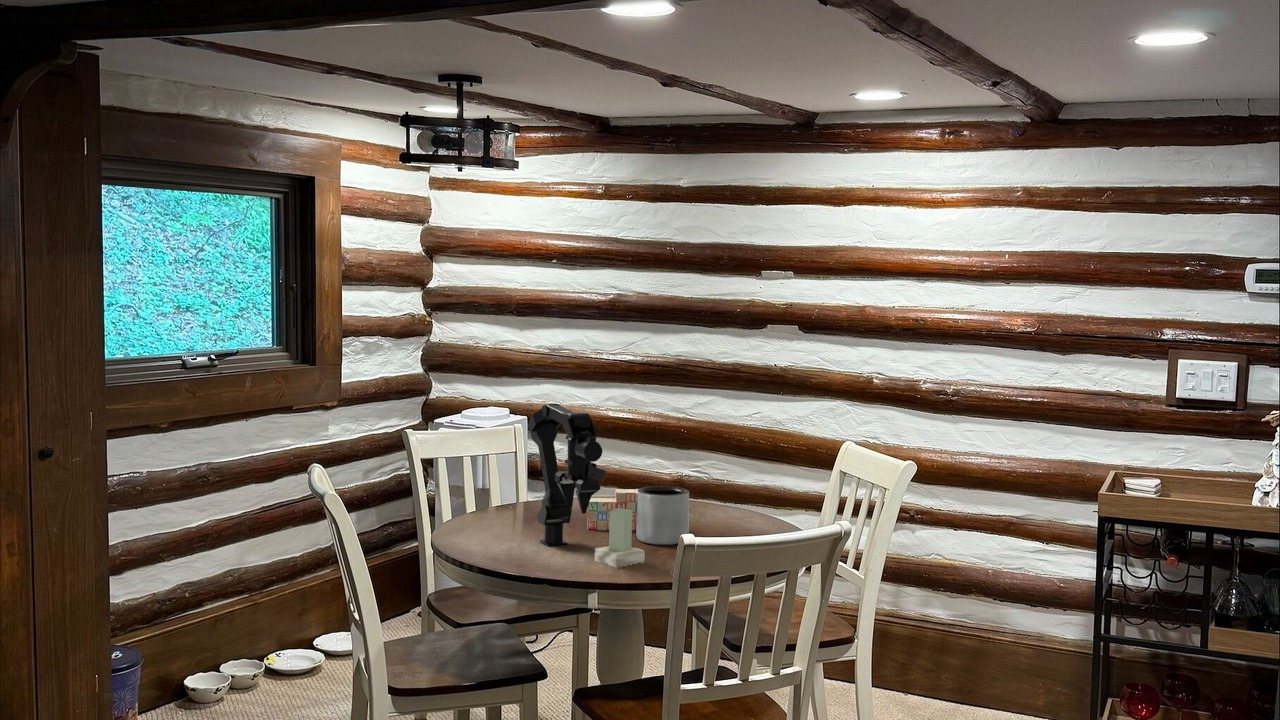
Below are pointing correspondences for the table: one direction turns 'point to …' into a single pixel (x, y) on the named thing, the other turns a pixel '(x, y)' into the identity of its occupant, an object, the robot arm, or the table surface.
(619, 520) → the tall sage block
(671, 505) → the planter
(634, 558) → the cream base block
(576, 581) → the table surface
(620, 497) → the stack of blocks
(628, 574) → the table surface
